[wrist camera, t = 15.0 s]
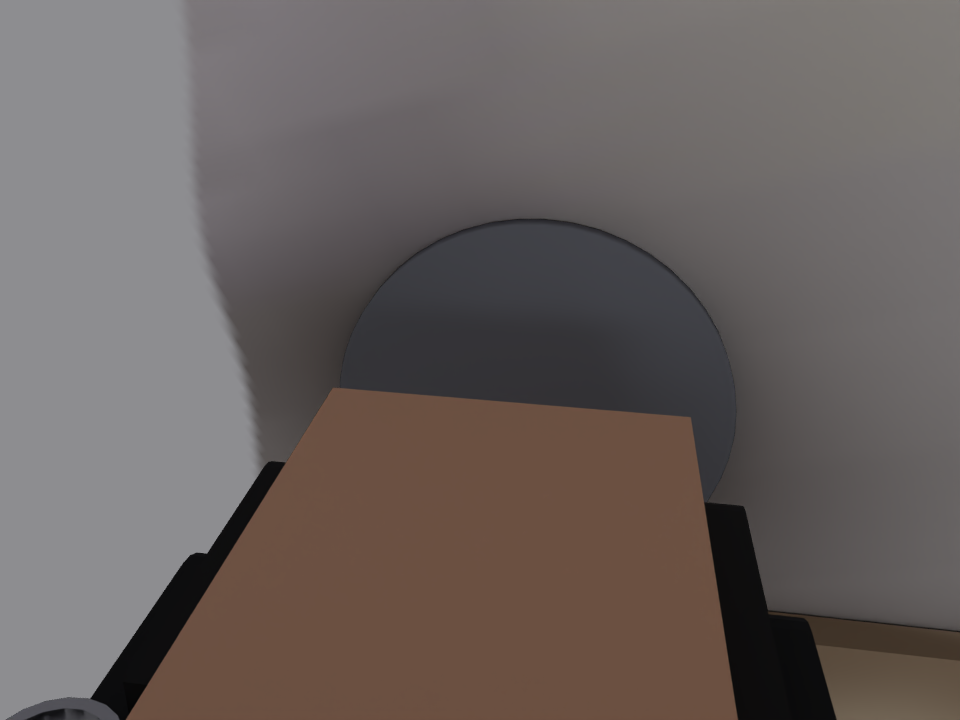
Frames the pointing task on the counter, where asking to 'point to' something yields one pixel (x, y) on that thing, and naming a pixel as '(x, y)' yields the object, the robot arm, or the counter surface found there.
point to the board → (888, 669)
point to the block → (463, 574)
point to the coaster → (549, 330)
